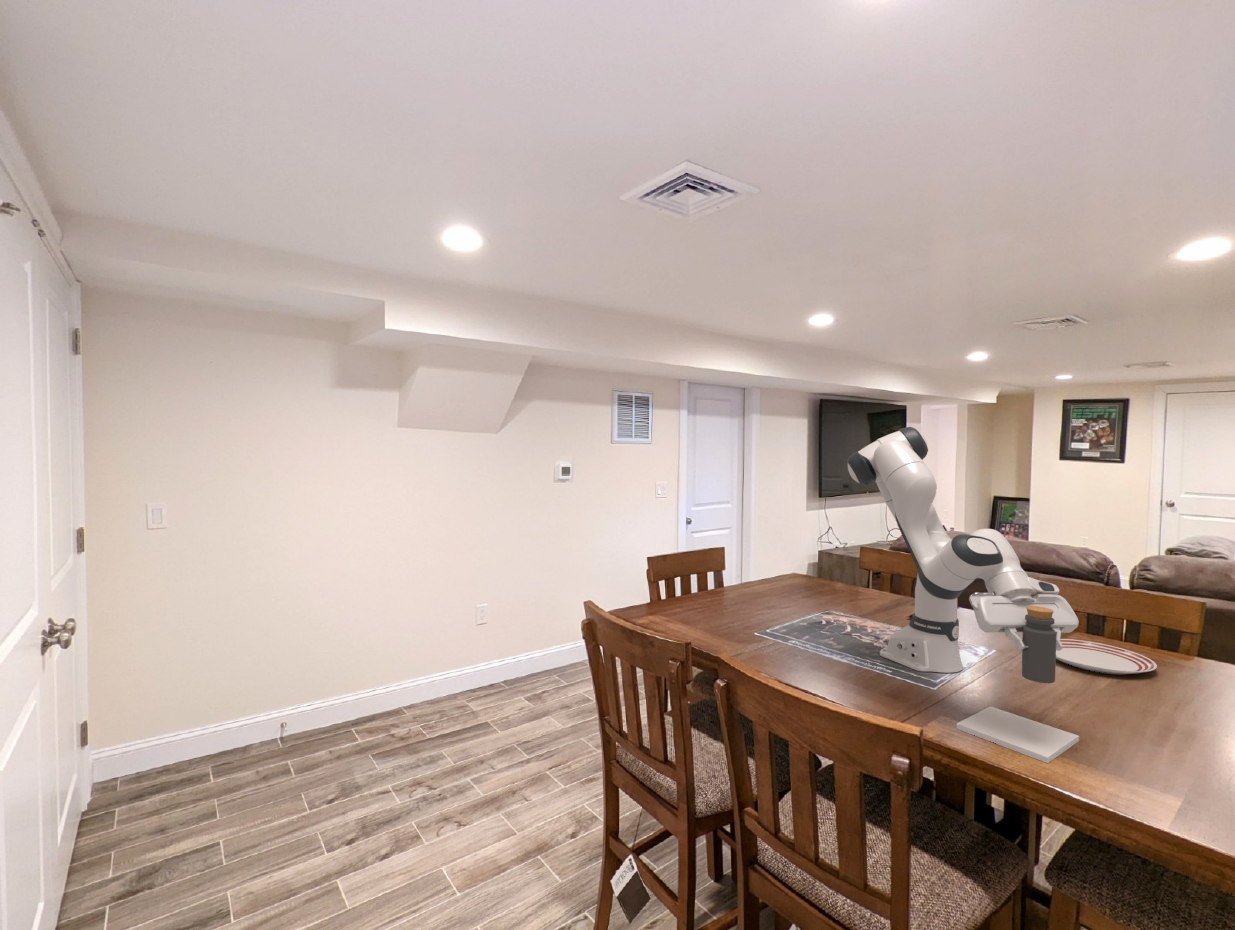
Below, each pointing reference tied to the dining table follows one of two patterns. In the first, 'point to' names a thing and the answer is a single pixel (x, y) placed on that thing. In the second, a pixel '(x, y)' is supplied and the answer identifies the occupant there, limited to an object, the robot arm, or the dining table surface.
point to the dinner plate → (1103, 658)
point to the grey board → (1019, 733)
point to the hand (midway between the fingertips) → (1041, 649)
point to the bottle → (1039, 645)
